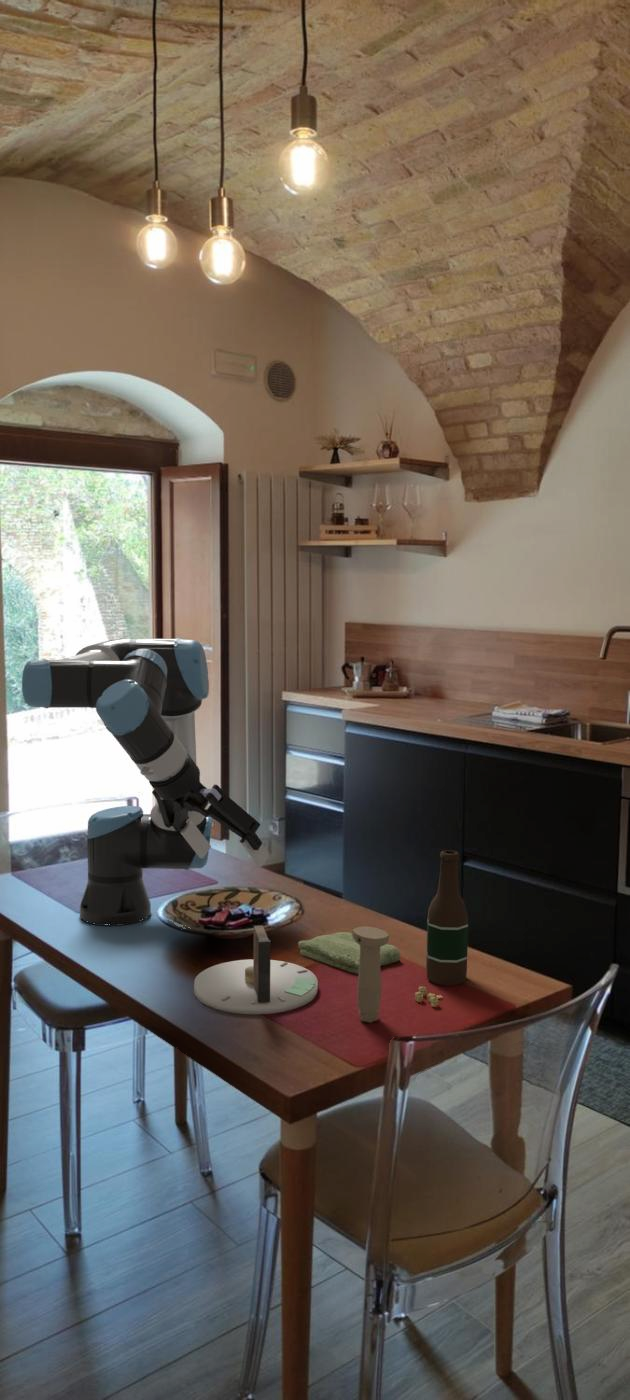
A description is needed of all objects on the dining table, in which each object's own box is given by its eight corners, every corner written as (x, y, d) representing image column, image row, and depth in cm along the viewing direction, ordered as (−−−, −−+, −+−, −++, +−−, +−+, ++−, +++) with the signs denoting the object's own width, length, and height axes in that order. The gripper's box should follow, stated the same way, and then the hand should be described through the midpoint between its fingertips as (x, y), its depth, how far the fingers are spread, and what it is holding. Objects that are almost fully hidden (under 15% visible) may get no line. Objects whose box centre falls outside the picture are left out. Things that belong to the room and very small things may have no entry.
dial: (218, 961, 202) (219, 953, 202) (330, 974, 196) (330, 965, 196) (175, 1005, 181) (175, 996, 180) (298, 1021, 175) (298, 1011, 175)
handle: (367, 1009, 180) (369, 924, 178) (392, 1022, 175) (394, 935, 173) (345, 1016, 177) (346, 930, 176) (370, 1029, 172) (372, 940, 170)
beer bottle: (417, 973, 197) (421, 848, 194) (454, 969, 200) (458, 845, 197) (436, 989, 190) (440, 858, 187) (474, 983, 193) (479, 855, 190)
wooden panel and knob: (243, 976, 190) (244, 918, 189) (265, 974, 191) (266, 917, 189) (252, 1003, 177) (252, 942, 176) (275, 1002, 178) (276, 941, 177)
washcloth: (340, 939, 217) (340, 924, 216) (404, 963, 204) (404, 947, 203) (292, 954, 208) (293, 938, 207) (356, 979, 195) (357, 963, 194)
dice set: (436, 1011, 181) (436, 1001, 181) (409, 1005, 184) (409, 995, 184) (447, 1001, 186) (447, 991, 185) (420, 996, 188) (420, 985, 188)
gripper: (103, 780, 170) (171, 865, 181) (210, 788, 153) (278, 882, 164) (129, 747, 174) (194, 832, 185) (237, 752, 158) (301, 845, 169)
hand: (234, 856), depth 175 cm, fingers open, 13 cm apart
